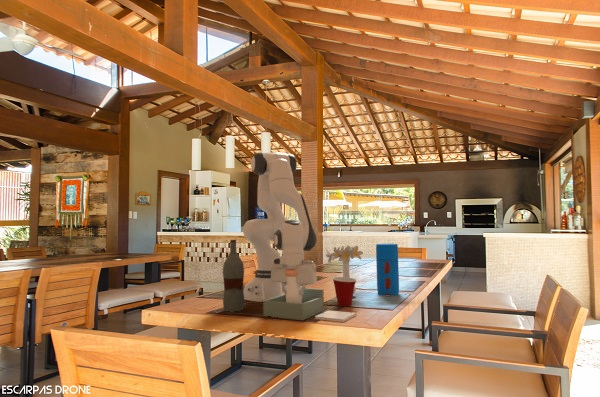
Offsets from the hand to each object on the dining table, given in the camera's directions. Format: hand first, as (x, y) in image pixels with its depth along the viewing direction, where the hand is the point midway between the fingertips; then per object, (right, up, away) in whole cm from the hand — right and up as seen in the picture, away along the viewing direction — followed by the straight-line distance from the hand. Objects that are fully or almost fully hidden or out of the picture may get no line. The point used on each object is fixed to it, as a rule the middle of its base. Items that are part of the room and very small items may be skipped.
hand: (293, 294), depth 175 cm
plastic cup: (+22, -8, +14) cm, 28 cm away
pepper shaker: (0, -8, 0) cm, 8 cm away
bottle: (-26, -9, +8) cm, 28 cm away
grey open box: (0, -8, -1) cm, 8 cm away
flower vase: (+25, -10, +37) cm, 46 cm away
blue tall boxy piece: (+47, -9, +42) cm, 64 cm away
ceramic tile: (+16, -7, -9) cm, 20 cm away
